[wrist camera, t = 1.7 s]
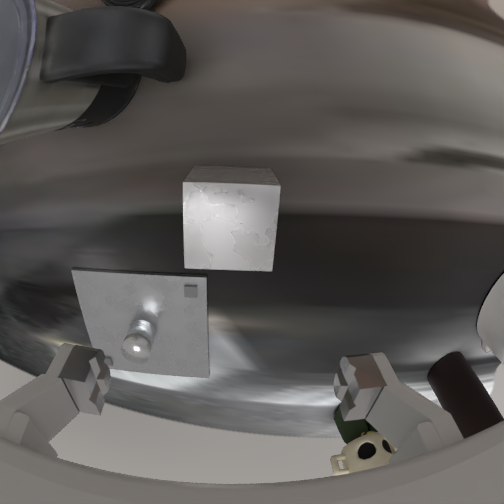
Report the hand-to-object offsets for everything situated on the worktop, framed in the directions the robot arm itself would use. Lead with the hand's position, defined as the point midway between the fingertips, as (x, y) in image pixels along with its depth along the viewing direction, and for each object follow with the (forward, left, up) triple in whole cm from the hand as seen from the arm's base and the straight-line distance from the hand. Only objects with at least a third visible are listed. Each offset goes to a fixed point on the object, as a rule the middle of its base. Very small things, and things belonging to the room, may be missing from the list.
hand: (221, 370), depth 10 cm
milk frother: (+11, -15, -18) cm, 26 cm away
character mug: (-19, +30, -18) cm, 40 cm away
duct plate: (+9, +14, -18) cm, 24 cm away
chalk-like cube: (0, 0, -18) cm, 18 cm away
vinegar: (-33, +23, -18) cm, 44 cm away
